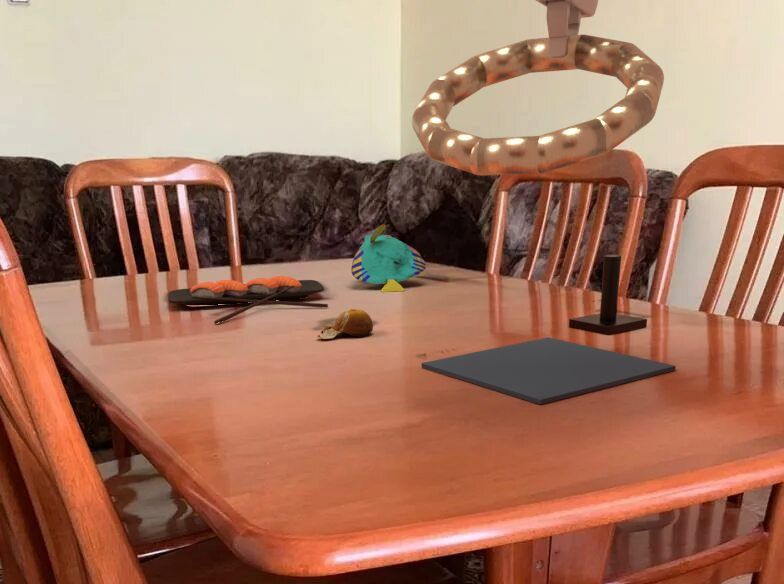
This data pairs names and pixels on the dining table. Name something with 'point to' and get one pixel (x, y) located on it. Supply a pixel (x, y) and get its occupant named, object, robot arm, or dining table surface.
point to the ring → (551, 147)
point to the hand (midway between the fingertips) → (562, 58)
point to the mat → (547, 369)
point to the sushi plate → (248, 293)
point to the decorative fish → (386, 261)
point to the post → (609, 305)
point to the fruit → (349, 324)
